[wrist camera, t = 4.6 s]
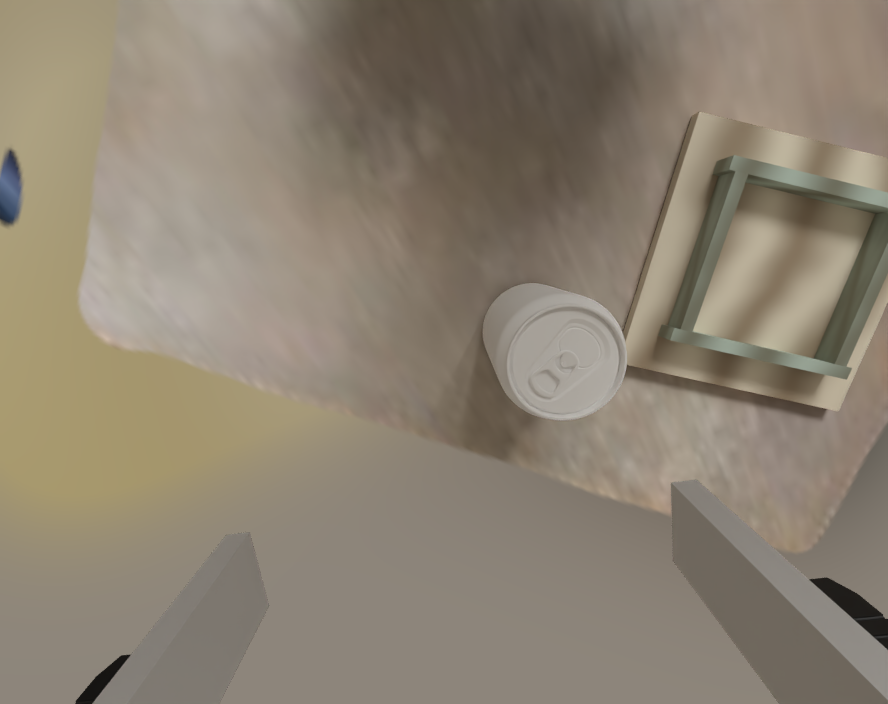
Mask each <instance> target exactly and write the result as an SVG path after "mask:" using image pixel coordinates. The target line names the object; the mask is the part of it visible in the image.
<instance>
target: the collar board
mask: <svg viewBox="0 0 888 704" xmlns="http://www.w3.org/2000/svg"><path fill="white" fill-rule="evenodd" d="M887 303H888V158H885V157H881V156H877V155H873V154H869V153H865V152H861V151H857V150H853V149H849V148H845V147H841V146H837V145H833V144H829V143H825V142H821V141H817V140H813V139H809V138H805V137H800V136H796V135H792V134H788V133H784V132H780V131H776V130H772V129H768V128H764V127H760V126H756V125H752V124H748V123H744V122H740V121H736V120H732V119H728V118H724V117H720V116H716V115H712V114H707V113H703V112H698V113H696V114H694V115H693V116H692V118H691V121H690V124H689V127H688V130H687V133H686V136H685V140H684V143H683V146H682V149H681V152H680V155H679V158H678V162H677V165H676V168H675V171H674V174H673V177H672V180H671V184H670V187H669V190H668V193H667V196H666V199H665V202H664V205H663V209H662V212H661V215H660V218H659V221H658V224H657V227H656V231H655V234H654V237H653V240H652V243H651V246H650V249H649V253H648V256H647V259H646V262H645V265H644V268H643V271H642V275H641V278H640V281H639V284H638V287H637V290H636V293H635V296H634V300H633V303H632V306H631V309H630V312H629V315H628V318H627V322H626V325H625V328H624V331H623V336H624V339H625V344H626V350H627V365H629V366H634V367H638V368H643V369H647V370H652V371H657V372H661V373H666V374H670V375H675V376H679V377H684V378H688V379H693V380H698V381H702V382H707V383H711V384H716V385H720V386H725V387H729V388H734V389H738V390H743V391H748V392H752V393H757V394H761V395H766V396H770V397H775V398H779V399H784V400H788V401H793V402H798V403H802V404H807V405H811V406H816V407H820V408H825V409H829V410H834V411H839V409H840V407H841V405H842V402H843V400H844V398H845V396H846V394H847V391H848V389H849V387H850V385H851V382H852V380H853V378H854V376H855V374H856V371H857V369H858V367H859V365H860V362H861V360H862V358H863V356H864V354H865V351H866V349H867V347H868V345H869V343H870V340H871V338H872V336H873V334H874V331H875V329H876V327H877V325H878V323H879V320H880V318H881V316H882V314H883V311H884V309H885V307H886V305H887Z"/></svg>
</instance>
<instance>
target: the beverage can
mask: <svg viewBox="0 0 888 704" xmlns="http://www.w3.org/2000/svg"><path fill="white" fill-rule="evenodd" d="M483 341H484V345H485V348H486V351H487V353H488V356H489V358H490V360H491V363H492V365H493V368H494V370H495V372H496V375H497V377H498V380H499V382H500V384H501V386H502V388H503V390H504V392H505V393H506V394H507V396H508V397H509V398H510V399H511V400H512V402H514V403H515V404H516V405H517V406H518V407H519V408H521V409H522V410H524V411H526V412H527V413H529V414H532V415H534V416H537V417H540V418H544V419H550V420H562V421H565V420H574V419H579V418H582V417H585V416H588V415H590V414H592V413H594V412H596V411H598V410H599V409H601V408H602V407H603V406H604V405H606V404H607V403H608V402H609V401H610V400H611V399H612V398H613V396H614V395H615V394H616V392H617V391H618V389H619V387H620V386H621V384H622V381H623V379H624V376H625V372H626V367H627V350H626V344H625V339H624V336H623V333H622V330H621V328H620V326H619V324H618V322H617V321H616V319H615V318H614V317H613V315H612V314H611V313H610V312H609V311H608V310H607V309H606V308H605V307H604V306H602V305H601V304H599V303H598V302H596V301H594V300H592V299H590V298H588V297H585V296H582V295H579V294H575V293H572V292H569V291H565V290H562V289H558V288H555V287H551V286H548V285H544V284H539V283H526V284H520V285H517V286H514V287H512V288H510V289H508V290H506V291H505V292H503V293H502V294H501V295H499V296H498V297H497V298H496V299H495V300H494V302H493V303H492V304H491V306H490V307H489V309H488V311H487V313H486V316H485V319H484V323H483Z"/></svg>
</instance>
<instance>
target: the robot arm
mask: <svg viewBox="0 0 888 704" xmlns="http://www.w3.org/2000/svg"><path fill="white" fill-rule="evenodd" d="M671 503H672V547H673V548H672V549H673V550H672V551H673V562H674V563H675V565H676V566H677V567H678V569H679V570H680V571H681V573H682V574H683V575H684V577H685V578H686V579H687V580H688V582H689V583H690V585H691V586H692V587H693V589H694V590H695V591H696V593H697V594H698V595H699V597H700V598H701V600H702V601H703V602H704V603H705V604H706V606H707V608H708V609H709V610H710V612H711V613H712V614H713V615H714V617H715V618H716V620H717V621H718V622H719V624H720V625H721V626H722V628H723V629H724V630H725V632H726V633H727V634H728V636H729V637H730V638H731V640H732V641H733V642H734V644H735V645H736V646H737V648H738V649H739V651H740V652H741V653H742V655H743V656H744V657H745V658H746V660H747V661H748V663H749V664H750V665H751V667H752V668H753V669H754V670H755V672H756V673H757V675H758V676H759V677H760V679H761V680H762V681H763V683H764V684H765V685H766V687H767V688H768V689H769V691H770V692H771V694H772V695H773V696H774V698H775V699H776V700H777V702H778V703H779V704H888V619H885V618H884V617H883V614H881V613H880V612H879V611H878V610H877V609H875V608H874V607H873V606H872V605H870V604H869V603H868V602H867V601H866V600H864V599H863V598H862V597H861V596H860V595H858V594H857V593H855V592H853V591H851V590H849V589H848V588H846V587H844V586H842V585H840V584H838V583H836V582H835V581H833V580H831V579H829V578H818V579H808V578H806V577H805V576H804V575H803V574H802V573H801V572H800V571H799V570H798V569H796V568H795V567H794V566H793V565H792V564H791V563H790V562H789V561H787V560H786V559H785V558H784V557H783V556H782V555H780V553H778V552H777V551H776V550H775V549H774V548H773V547H772V546H771V545H769V544H768V543H767V542H766V541H765V540H764V539H763V538H762V537H760V536H759V535H758V534H757V533H756V532H755V531H754V530H753V529H751V528H750V527H749V526H748V525H747V524H746V523H745V522H744V521H742V520H741V519H740V518H739V517H738V516H737V515H736V514H735V513H733V512H732V511H731V510H730V509H729V508H728V507H727V506H726V505H725V504H723V503H722V502H721V501H720V500H719V499H718V498H717V497H716V496H714V495H713V494H712V493H711V492H710V491H709V490H708V489H707V488H705V487H704V486H703V485H702V484H701V483H700V482H699V481H698V480H689V481H681V482H672V483H671ZM268 607H269V603H268V599H267V596H266V592H265V588H264V584H263V581H262V577H261V573H260V569H259V565H258V562H257V558H256V554H255V550H254V546H253V543H252V539H251V535H250V532H247V533H238V534H229V535H226V536H225V537H224V538H223V539H222V541H221V542H220V543H219V544H218V546H217V547H216V548H215V550H214V551H213V552H212V553H211V555H210V556H209V557H208V559H207V560H206V561H205V562H204V563H203V565H202V566H201V567H200V568H199V570H198V571H197V572H196V574H195V575H194V576H193V577H192V579H191V580H190V581H189V582H188V584H187V585H186V586H185V587H184V589H183V590H182V591H181V592H180V594H179V595H178V596H177V598H176V599H175V600H174V601H173V602H172V604H171V605H170V606H169V608H168V609H167V610H166V611H165V613H164V614H163V615H162V616H161V618H160V619H159V620H158V621H157V623H156V624H155V625H154V626H153V628H152V629H151V631H149V633H148V634H147V635H146V637H145V638H144V639H143V641H142V642H141V643H140V644H139V645H138V647H137V648H136V649H135V650H134V652H133V653H132V654H131V655H122V656H120V657H119V658H118V659H117V660H115V661H114V662H113V663H112V664H111V665H110V666H108V667H107V668H106V669H105V670H104V671H102V672H101V673H100V674H99V675H98V676H96V677H95V679H94V680H93V681H92V682H91V683H90V685H89V686H88V687H87V688H86V689H85V691H84V692H83V693H82V694H81V695H80V697H79V698H78V699H77V700H76V704H219V703H220V702H221V700H222V698H223V696H224V694H225V692H226V690H227V688H228V686H229V684H230V682H231V680H232V678H233V676H234V674H235V672H236V670H237V668H238V666H239V664H240V662H241V660H242V658H243V656H244V654H245V652H246V650H247V648H248V646H249V644H250V642H251V640H252V639H253V636H254V635H255V633H256V631H257V629H258V627H259V625H260V623H261V621H262V619H263V617H264V615H265V613H266V611H267V609H268Z"/></svg>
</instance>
